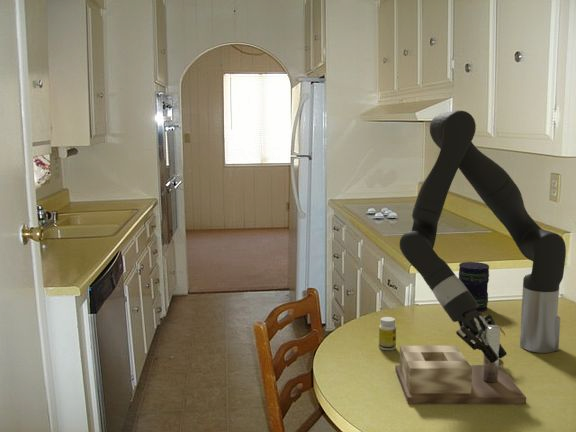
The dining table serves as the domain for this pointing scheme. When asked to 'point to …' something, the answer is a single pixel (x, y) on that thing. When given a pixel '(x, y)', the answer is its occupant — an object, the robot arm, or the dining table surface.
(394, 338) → the supplement bottle
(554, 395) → the dining table surface
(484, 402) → the walnut board
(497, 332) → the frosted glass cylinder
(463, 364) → the beech bead block
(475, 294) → the storage jar
